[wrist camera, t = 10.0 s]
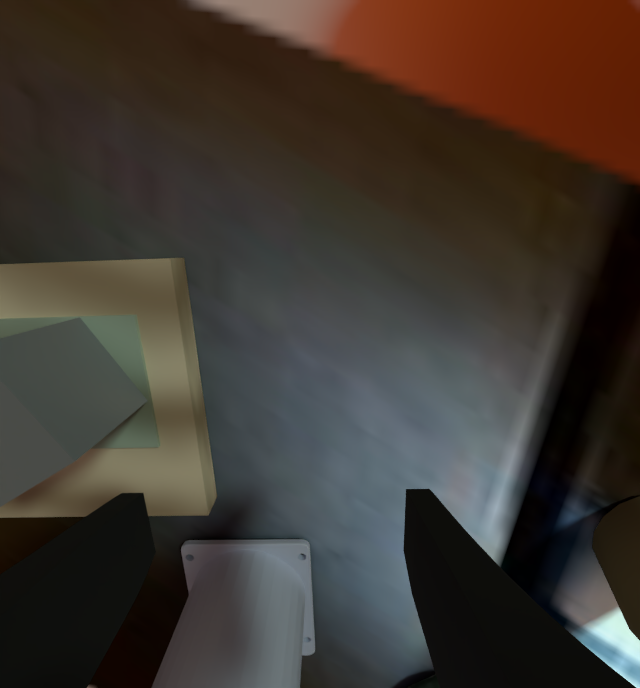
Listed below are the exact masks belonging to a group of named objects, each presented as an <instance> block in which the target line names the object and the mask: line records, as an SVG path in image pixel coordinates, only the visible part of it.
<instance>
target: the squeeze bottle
mask: <svg viewBox="0 0 640 688" xmlns="http://www.w3.org/2000/svg"><path fill="white" fill-rule="evenodd" d="M592 548H593V550H594V553H595V555H596V557H597V559H598V562H599V564H600V566H601V568H602V570H603V572H604V575H605V577H606V579H607V581H608V583H609V586H610V588H611V590H612V592H613V594H614V596H615V599H616V601H617V603H618V605H619V607H620V609H621V612H622V614H623V616H624V618H625V620H626V623H627V625H628V627H629V629H630V630H631V631H632V632H633V634H634V635H635V636H636V637H637V638H638V639H639V640H640V496H639V497H636V498H633V499H631V500H628V501H626V502H623V503H621V504H619V505H617V506H616V507H615V508H614V509H612V510H611V511H610V512H609V513H607V514H606V515H605V516H604V517H603V518H602V520H601V521H600V523H599V524H598V526H597V528H596V529H595V531H594V535H593V544H592Z"/></svg>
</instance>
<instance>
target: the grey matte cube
mask: <svg viewBox="0 0 640 688" xmlns="http://www.w3.org/2000/svg"><path fill="white" fill-rule="evenodd" d="M147 401H148V400H147V399H146V398H145V397H144V396H143V394H142V393H141V392H140V391H139V389H138V388H137V387H136V386H135V384H134V383H133V382H132V381H131V380H130V378H129V377H128V376H127V375H126V373H125V372H124V371H123V370H122V368H121V367H120V366H119V365H118V364H117V362H116V361H115V360H114V359H113V357H112V356H111V355H110V354H109V353H108V351H107V350H106V349H105V348H104V346H103V345H102V344H101V343H100V341H99V340H98V339H97V338H96V337H95V335H94V334H93V333H92V332H91V330H90V329H89V328H88V327H87V325H86V324H85V323H84V322H83V321H82V319H81V318H80V317H79V318H75V319H71V320H67V321H64V322H60V323H56V324H52V325H49V326H45V327H41V328H37V329H34V330H30V331H26V332H22V333H19V334H15V335H11V336H7V337H4V338H0V507H1V506H3V505H4V504H6V503H8V502H9V501H11V500H13V499H14V498H16V497H17V496H19V495H21V494H22V493H24V492H26V491H27V490H29V489H31V488H32V487H34V486H35V485H37V484H39V483H40V482H42V481H44V480H45V479H47V478H49V477H50V476H52V475H53V474H55V473H57V472H58V471H60V470H62V469H63V468H65V467H67V466H68V465H70V464H71V463H73V462H75V461H76V460H77V459H78V458H80V457H81V456H82V455H83V454H84V453H86V452H87V451H88V450H89V449H90V448H92V447H93V446H94V445H95V444H97V443H98V442H99V441H100V440H101V439H103V438H104V437H105V436H106V435H107V434H109V433H110V432H111V431H112V430H113V429H115V428H116V427H117V426H118V425H119V424H121V423H122V422H123V421H124V420H125V419H127V418H128V417H129V416H130V415H131V414H133V413H134V412H135V411H136V410H137V409H139V408H140V407H141V406H142V405H143V404H145V403H146V402H147Z"/></svg>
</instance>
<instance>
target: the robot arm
mask: <svg viewBox="0 0 640 688" xmlns="http://www.w3.org/2000/svg"><path fill="white" fill-rule="evenodd" d="M155 553H156V551H155V547H154V542H153V537H152V532H151V527H150V523H149V518H148V513H147V508H146V503H145V498H144V494H143V493H121V494H119V495H118V496H116V497H114V498H113V499H111V500H110V501H108V502H107V503H105V504H104V505H102V506H101V507H99V508H98V509H96V510H95V511H93V512H92V513H90V514H89V515H87V516H86V517H85V518H83V519H82V520H80V521H79V522H77V523H76V524H74V525H73V526H72V527H70V528H69V529H67V530H66V531H64V532H63V533H61V534H60V535H58V536H57V537H56V538H54V539H53V540H51V541H50V542H48V543H47V544H45V545H44V546H42V547H41V548H40V549H38V550H37V551H35V552H34V553H32V554H31V555H29V556H28V557H26V558H25V559H23V560H22V561H20V562H19V563H17V564H16V565H14V566H12V567H11V568H9V569H8V570H6V571H5V572H3V573H2V574H0V688H87V686H88V685H89V683H90V681H91V679H92V677H93V676H94V674H95V672H96V670H97V668H98V667H99V665H100V663H101V661H102V659H103V658H104V656H105V654H106V652H107V650H108V649H109V647H110V645H111V643H112V641H113V640H114V638H115V636H116V634H117V632H118V630H119V629H120V627H121V625H122V623H123V621H124V619H125V618H126V616H127V614H128V612H129V610H130V608H131V607H132V605H133V603H134V601H135V599H136V597H137V595H138V593H139V591H140V589H141V586H142V584H143V582H144V580H145V577H146V575H147V572H148V570H149V567H150V565H151V562H152V560H153V557H154V555H155ZM181 554H182V560H183V565H184V571H185V576H186V582H187V587H188V593H189V596H188V599H187V601H186V604H185V606H184V608H183V611H182V613H181V616H180V618H179V621H178V623H177V626H176V628H175V631H174V633H173V636H172V638H171V641H170V643H169V646H168V648H167V650H166V653H165V655H164V658H163V660H162V663H161V665H160V668H159V670H158V673H157V675H156V678H155V680H154V683H153V685H152V687H151V688H300V676H301V661H302V655H311V654H313V653H314V652H315V632H314V613H313V594H312V575H311V556H310V544H309V542H308V541H306V540H303V539H268V540H188V541H185V542H184V543H183V545H182V547H181ZM301 554H304V555H301ZM404 554H405V560H406V565H407V570H408V576H409V581H410V586H411V591H412V595H413V598H414V602H415V605H416V609H417V612H418V616H419V619H420V623H421V626H422V629H423V633H424V636H425V639H426V643H427V646H428V650H429V653H430V656H431V660H432V663H433V666H434V670H435V673H436V677H437V680H438V683H439V687H440V688H636V687H635V686H633V685H632V684H631V683H630V682H628V681H627V680H626V679H625V678H623V677H622V676H621V675H619V674H618V673H617V672H616V671H614V670H613V669H612V668H611V667H609V666H608V665H607V664H606V663H605V662H603V661H602V660H601V659H600V658H599V657H597V656H596V655H595V654H594V653H592V652H591V651H590V650H589V649H588V648H587V647H585V646H584V645H583V644H582V643H581V642H580V641H578V640H577V639H576V638H575V637H574V636H573V635H572V634H570V633H569V632H568V631H567V630H566V629H565V628H564V627H562V626H561V625H560V624H559V623H558V622H557V621H556V620H554V619H553V618H552V617H551V616H550V615H549V614H548V613H547V612H546V611H545V610H543V609H542V608H541V607H540V606H539V605H538V604H537V603H536V602H535V601H534V600H533V599H532V598H531V597H530V596H529V595H528V594H527V593H525V592H524V591H523V590H522V589H521V588H520V587H519V586H518V585H517V584H516V583H515V582H514V581H513V580H512V579H511V578H510V577H509V576H508V575H507V574H506V573H505V572H504V571H503V570H502V569H501V568H500V567H499V566H498V565H497V564H496V563H495V562H494V561H493V559H492V558H491V557H490V556H489V555H488V554H487V553H486V552H485V551H484V550H483V549H482V548H481V547H480V546H479V545H478V544H477V542H476V541H475V540H474V539H473V538H472V537H471V536H470V535H469V534H468V533H467V532H466V530H465V529H464V528H463V527H462V526H461V525H460V524H459V523H458V521H457V520H456V519H455V518H454V517H453V516H452V515H451V513H450V512H449V511H448V510H447V509H446V508H445V506H444V505H443V504H442V503H441V502H440V500H439V499H438V498H437V497H436V496H435V495H434V493H433V492H432V491H431V490H430V489H406V507H405V532H404Z"/></svg>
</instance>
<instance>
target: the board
mask: <svg viewBox="0 0 640 688" xmlns="http://www.w3.org/2000/svg"><path fill="white" fill-rule="evenodd" d="M79 317H80V318H81V319H82V321H83V322H84V323H85V324H86V325H87V327H88V328H89V329H90V330H91V332H92V333H93V334H94V335H95V337H96V338H97V339H98V340H99V341H100V343H101V344H102V345H103V346H104V348H105V349H106V350H107V351H108V353H109V354H110V355H111V356H112V357H113V359H114V360H115V361H116V362H117V364H118V365H119V366H120V367H121V368H122V370H123V371H124V372H125V373H126V375H127V376H128V377H129V378H130V380H131V381H132V382H133V383H134V384H135V386H136V387H137V388H138V389H139V391H140V392H141V393H142V394H143V396H144V397H145V398H146V399H147V400H148V401H147V402H146V403H145V404H143V405H142V406H141V407H140V408H139V409H137V410H136V411H135V412H134V413H133V414H131V415H130V416H129V417H128V418H127V419H125V420H124V421H123V422H122V423H121V424H119V425H118V426H117V427H116V428H115V429H113V430H112V431H111V432H110V433H109V434H107V435H106V436H105V437H104V438H103V439H101V440H100V441H99V442H98V443H97V444H95V445H94V446H93V447H92V448H90V449H89V450H88V451H87V452H86V453H84V454H83V455H82V456H81V457H80V458H78V459H77V460H76V461H75V462H73V463H71V464H70V465H68V466H67V467H65V468H63V469H62V470H60V471H58V472H57V473H55V474H53V475H52V476H50V477H49V478H47V479H45V480H44V481H42V482H40V483H39V484H37V485H35V486H34V487H32V488H31V489H29V490H27V491H26V492H24V493H22V494H21V495H19V496H17V497H16V498H14V499H13V500H11V501H9V502H8V503H6V504H4V505H3V506H1V507H0V518H4V517H86V516H87V515H89V514H90V513H92V512H93V511H95V510H96V509H98V508H99V507H101V506H102V505H104V504H105V503H107V502H108V501H110V500H111V499H113V498H114V497H116V496H118V495H119V494H121V493H143V494H144V498H145V503H146V508H147V513H148V516H192V515H209V513H210V511H211V509H212V506H213V504H214V502H215V500H216V498H217V493H216V486H215V478H214V471H213V464H212V457H211V450H210V442H209V435H208V428H207V421H206V413H205V406H204V399H203V392H202V385H201V377H200V370H199V363H198V356H197V349H196V341H195V334H194V327H193V320H192V312H191V305H190V298H189V291H188V284H187V276H186V269H185V262H184V258H164V259H136V260H108V261H80V262H52V263H24V264H0V338H4V337H7V336H11V335H15V334H19V333H22V332H26V331H30V330H34V329H37V328H41V327H45V326H49V325H52V324H56V323H60V322H64V321H67V320H71V319H75V318H79Z"/></svg>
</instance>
